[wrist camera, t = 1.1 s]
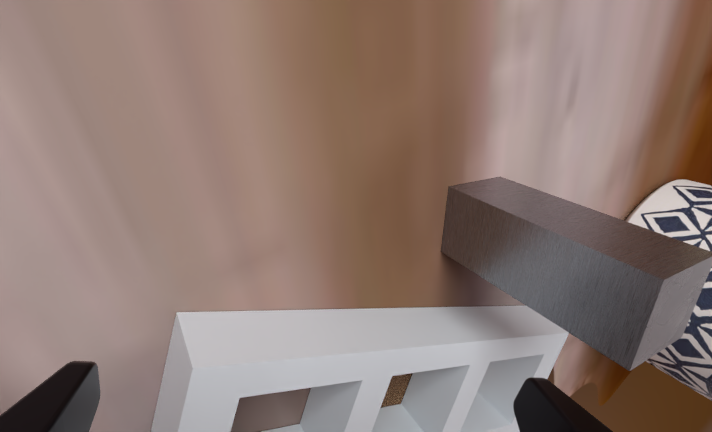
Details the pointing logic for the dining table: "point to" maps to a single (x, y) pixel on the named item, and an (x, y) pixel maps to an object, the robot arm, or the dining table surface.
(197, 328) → the white flat frame block
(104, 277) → the dining table surface
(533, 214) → the steel peg
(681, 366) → the planter
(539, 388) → the robot arm
